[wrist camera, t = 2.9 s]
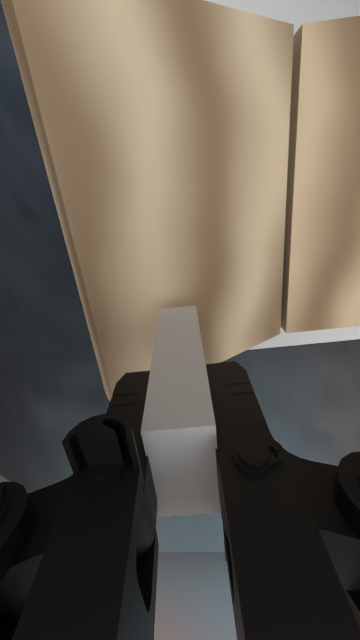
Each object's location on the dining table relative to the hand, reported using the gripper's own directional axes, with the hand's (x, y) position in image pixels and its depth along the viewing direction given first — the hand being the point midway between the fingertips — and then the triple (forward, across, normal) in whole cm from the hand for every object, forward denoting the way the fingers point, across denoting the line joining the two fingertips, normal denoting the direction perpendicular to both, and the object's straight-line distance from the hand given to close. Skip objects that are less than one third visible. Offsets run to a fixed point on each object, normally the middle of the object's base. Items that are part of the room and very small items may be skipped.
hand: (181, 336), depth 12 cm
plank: (+5, +1, +4) cm, 6 cm away
